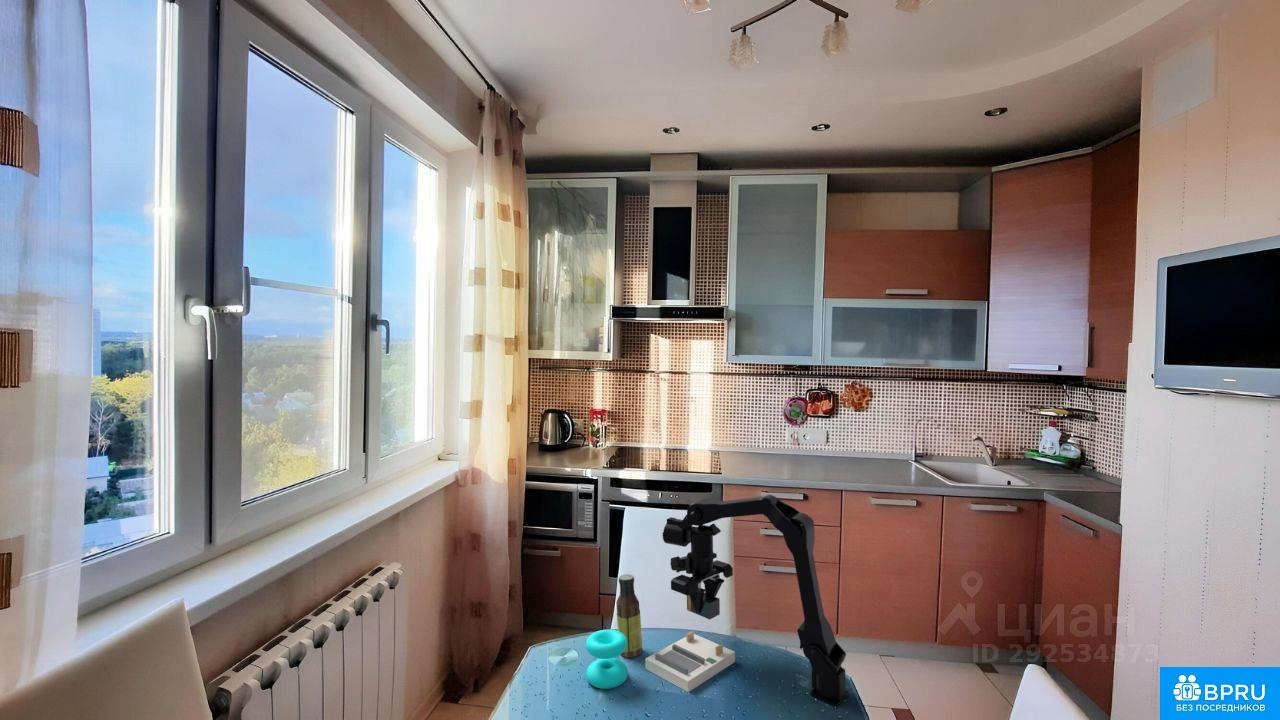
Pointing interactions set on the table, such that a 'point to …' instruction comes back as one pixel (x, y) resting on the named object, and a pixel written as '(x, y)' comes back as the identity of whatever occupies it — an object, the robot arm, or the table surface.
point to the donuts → (606, 659)
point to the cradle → (690, 661)
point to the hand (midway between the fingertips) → (703, 610)
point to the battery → (706, 606)
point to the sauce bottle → (629, 616)
